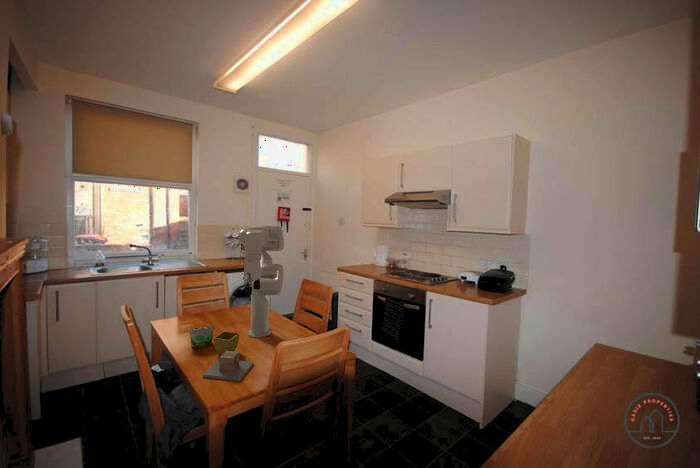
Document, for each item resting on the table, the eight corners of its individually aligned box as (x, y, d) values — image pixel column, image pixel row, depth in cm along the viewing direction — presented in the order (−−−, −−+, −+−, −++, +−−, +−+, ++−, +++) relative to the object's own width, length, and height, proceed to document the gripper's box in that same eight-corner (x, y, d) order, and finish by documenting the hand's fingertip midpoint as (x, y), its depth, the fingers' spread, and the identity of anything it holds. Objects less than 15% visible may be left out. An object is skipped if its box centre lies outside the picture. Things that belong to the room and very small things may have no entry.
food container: (188, 351, 153) (188, 331, 152) (188, 346, 158) (188, 327, 157) (215, 347, 158) (216, 328, 158) (214, 342, 164) (215, 324, 163)
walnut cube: (226, 363, 140) (226, 350, 140) (239, 365, 140) (239, 352, 139) (219, 370, 134) (219, 357, 134) (232, 372, 134) (232, 358, 133)
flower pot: (229, 358, 148) (229, 340, 147) (212, 356, 149) (213, 337, 149) (239, 350, 156) (239, 333, 155) (223, 348, 158) (224, 330, 157)
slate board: (220, 361, 145) (220, 358, 145) (253, 364, 143) (253, 361, 143) (202, 377, 131) (202, 374, 131) (239, 381, 129) (239, 378, 129)
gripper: (253, 254, 160) (252, 286, 162) (237, 259, 143) (237, 296, 145) (267, 254, 160) (266, 287, 161) (253, 260, 143) (252, 297, 144)
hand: (252, 291), depth 153 cm, fingers open, 9 cm apart
